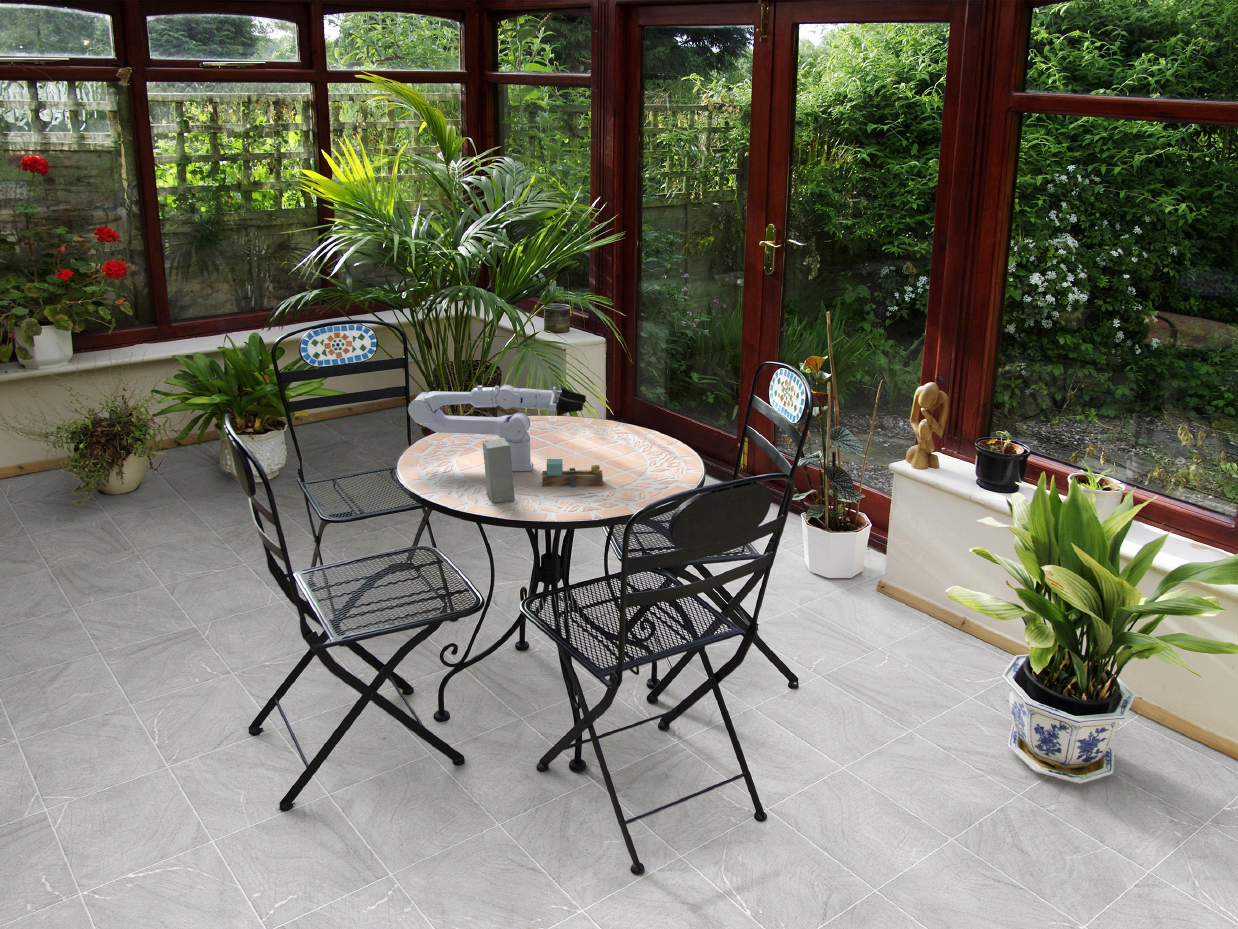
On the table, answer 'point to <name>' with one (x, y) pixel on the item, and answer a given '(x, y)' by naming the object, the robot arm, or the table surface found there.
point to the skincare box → (498, 470)
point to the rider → (554, 467)
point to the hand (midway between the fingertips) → (584, 402)
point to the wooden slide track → (575, 478)
